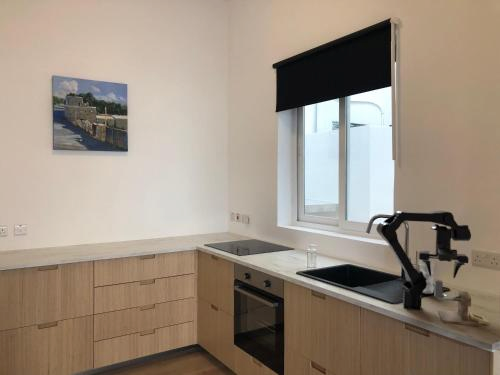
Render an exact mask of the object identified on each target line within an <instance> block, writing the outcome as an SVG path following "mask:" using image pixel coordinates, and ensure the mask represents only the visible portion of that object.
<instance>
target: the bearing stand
mask: <svg viewBox="0 0 500 375" xmlns="http://www.w3.org/2000/svg"><path fill="white" fill-rule="evenodd" d="M458 296H461V302H459V301H457V304H458V305H457V311H448V310H439V309H438V310H437V313H438V315H439V318H440V320H441V322H442V323H444V324H446V323H447V324H454V325H463V326H471V325H472V327H473V326H474V327H481V322H478V321H475V320H472V319H470V317H469V316H468V312H469V308H471V307H472V297H471V295H470V294H469V293H468V291H463V290H460V291H459V290H458Z"/></svg>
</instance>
